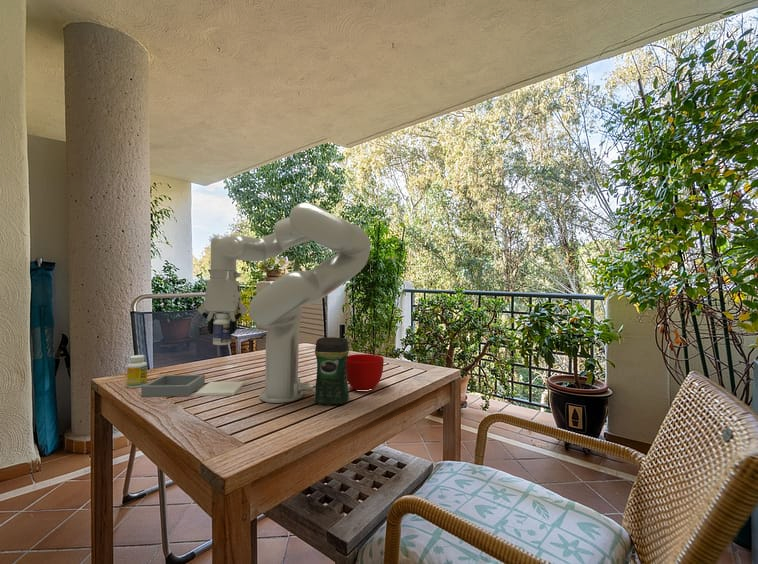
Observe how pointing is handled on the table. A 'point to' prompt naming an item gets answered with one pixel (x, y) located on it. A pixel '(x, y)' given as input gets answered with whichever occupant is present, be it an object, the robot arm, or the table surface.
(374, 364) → the ceramic cup
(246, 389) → the table surface
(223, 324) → the pill bottle
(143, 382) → the supplement bottle
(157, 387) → the bin
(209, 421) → the table surface
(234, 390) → the tile
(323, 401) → the coffee jar
